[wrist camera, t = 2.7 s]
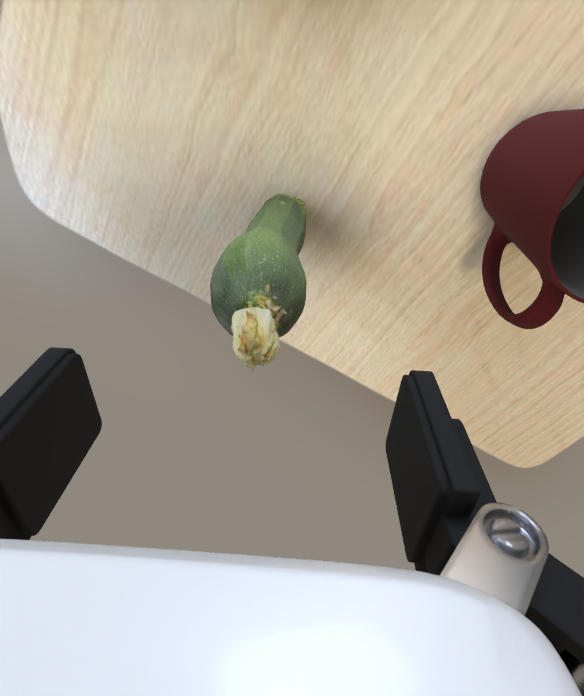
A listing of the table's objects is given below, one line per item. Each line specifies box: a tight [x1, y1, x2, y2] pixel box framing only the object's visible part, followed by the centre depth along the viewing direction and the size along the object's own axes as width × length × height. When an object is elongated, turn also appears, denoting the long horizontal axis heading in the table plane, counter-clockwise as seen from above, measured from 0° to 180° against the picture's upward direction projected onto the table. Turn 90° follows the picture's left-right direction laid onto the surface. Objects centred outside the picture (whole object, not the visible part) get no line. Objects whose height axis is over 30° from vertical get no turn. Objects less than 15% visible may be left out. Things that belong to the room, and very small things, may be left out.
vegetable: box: [210, 194, 306, 370], centre depth 21 cm, size 4×4×20 cm
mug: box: [480, 109, 584, 329], centre depth 23 cm, size 12×9×11 cm
